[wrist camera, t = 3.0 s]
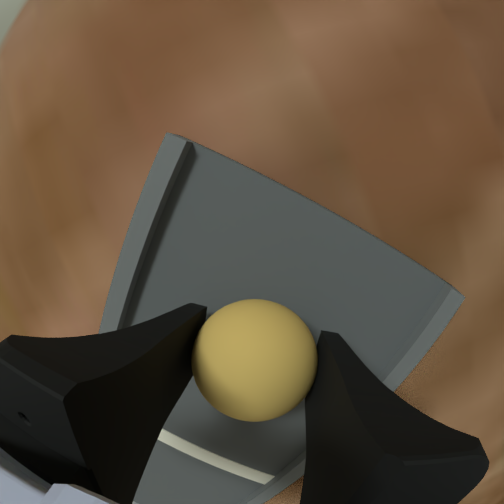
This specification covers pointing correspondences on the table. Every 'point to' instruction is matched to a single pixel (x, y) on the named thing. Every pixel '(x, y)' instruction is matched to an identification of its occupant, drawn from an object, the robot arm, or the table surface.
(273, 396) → the ball
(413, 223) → the table surface
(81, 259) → the table surface
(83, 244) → the table surface
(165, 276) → the lane mat
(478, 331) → the table surface
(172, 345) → the robot arm
